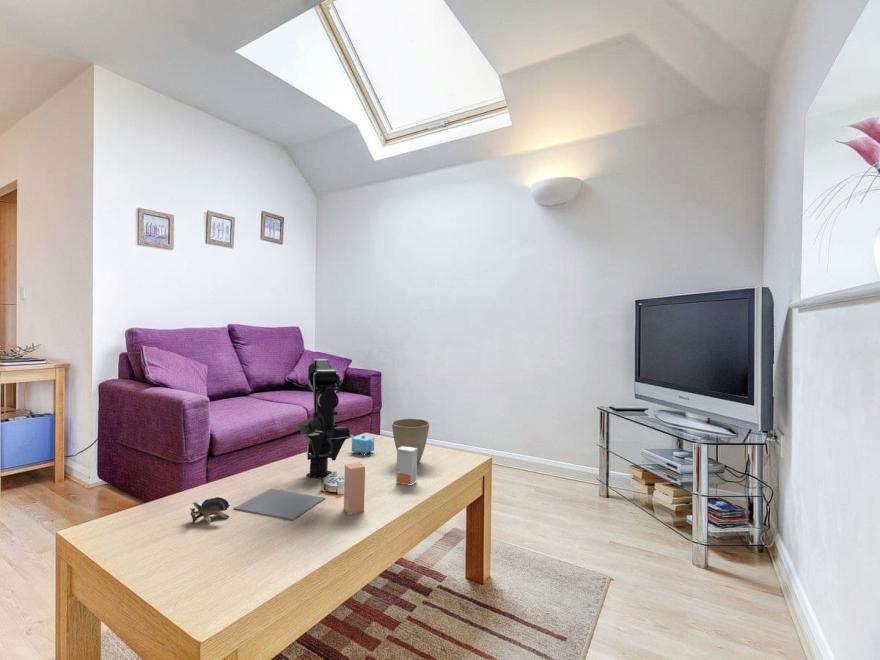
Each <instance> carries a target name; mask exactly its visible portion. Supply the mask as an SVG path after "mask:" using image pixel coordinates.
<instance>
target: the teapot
mask: <svg viewBox="0 0 880 660" xmlns="http://www.w3.org/2000/svg"><path fill="white" fill-rule="evenodd" d="M349 437H351V452H353V453H358V454H361V455H362V454H363V455H362V456H365V455H364V454H366V455H367V454H370V453H369V452H371V453H372V452H374V451H375V437H372V436H368V435H365V434H361V435H358V436H354V435H352V434H350V436H349Z"/></svg>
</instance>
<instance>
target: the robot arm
mask: <svg viewBox="0 0 880 660" xmlns="http://www.w3.org/2000/svg"><path fill="white" fill-rule="evenodd" d="M339 374H340V373H339V372H337V369H336V368H332V365H330V364H329V359H328V358H315V359H314V360H313V363H311V364H310V365H308V367H307V375H306V376H307V377H306V378H307V381H308V384H309V385H308V387H309V389H311V391H312V392H313V413H312V417H311V418H308V419H306V420H303V421H302V422H300V423H299V424H298V427H299V431H300V435H303V437H304V438H306V439H307V440H308V442H307V447H306V459H307V461H308V460H309V461H310V462H309V463H310V464H309V472H308V473H306V475H305V476H306V477H312V478H318V479H322V477H323V478H324V476H325V477H326V476H328V475H329V474H332V471H331V470H328V467H329V466H328V463H329V459H331V461H332V462H333V461H336V460H337V457H338V455H339V453H340V450H341V449H342V446H343V445H344V443H345V441H346V440H347V439H348V437H351V436H350V435H351V429H350V428H349V427H347V426H338V424H335V420H336V419H335V418H336V417H335V416H338V411H336V410H335V409H336V408H337V406H338V405H339V402H340V401H339V399H340V398H339V396H338V394H337V393H335V391H340V389H341V388H342V383H341V382H342V381H341V376H340V375H339Z"/></svg>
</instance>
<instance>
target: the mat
mask: <svg viewBox="0 0 880 660" xmlns="http://www.w3.org/2000/svg"><path fill="white" fill-rule="evenodd" d="M325 500H326V497H323V496H318V495H311V494H306V493H301V492H300V493H299V492H294V491H293V492H292V491H288V490H281V489H276V488H270V489H267V490H266V491H263V492H262V493H260V494H257V495H256V496H254V497H252V498H250V499H248V500H246V501H244V502H243V503H242V502H241V504H239V505H237V506H235V507H233V510H235V511H241V512H244V513H245V512H246V513H249V514H250V513H251V514H257V515H260V516H267V517H272V518H277V519H282V520H288V521H294V520H296V519H298V518H299V517H301V516H302V515H304V514H305V513H307V512H308V511H310V510H311V509H313V508H314V507H316V506H317V505H318V504H320V503H321V502H323V501H325Z"/></svg>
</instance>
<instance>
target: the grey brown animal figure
mask: <svg viewBox="0 0 880 660" xmlns="http://www.w3.org/2000/svg"><path fill="white" fill-rule="evenodd" d="M192 505H193V506H194V507H193V508H189V510H190V516H191V519H192V521H191V523H192V524H195V522H197V520H198V519H200V518H202V517H203V519H205V521H207V524H208V525H210V524H211V517H210V516H212V515H214V516H217V517H221V518H222V519H228V518H230V515H229V514H226V513H225V511H227V510H228V509H229V508H230V504H229V502H228V500H226V499H225V498H223V497H218V496H217V497H213V498H212V497H211V498H207V499H205V500H204V501H202V503H201V505H200V504H199V503H198V502H196V501H195V502H192ZM195 508H196V509H197V510H196V509H195ZM195 510H196V511H195ZM223 511H224V512H223Z"/></svg>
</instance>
